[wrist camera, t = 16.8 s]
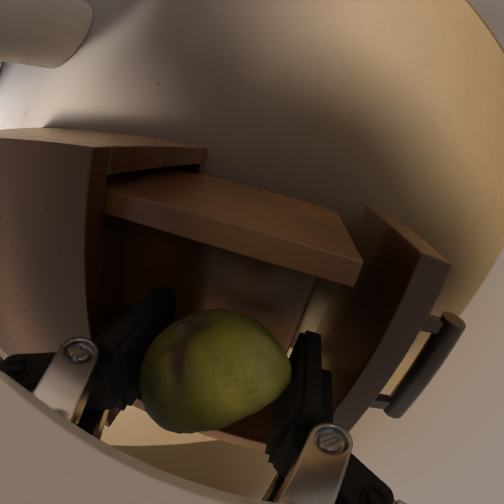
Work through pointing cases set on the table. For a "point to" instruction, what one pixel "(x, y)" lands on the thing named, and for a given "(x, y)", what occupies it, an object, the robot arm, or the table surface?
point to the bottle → (42, 30)
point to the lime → (211, 371)
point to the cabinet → (63, 228)
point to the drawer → (281, 281)
